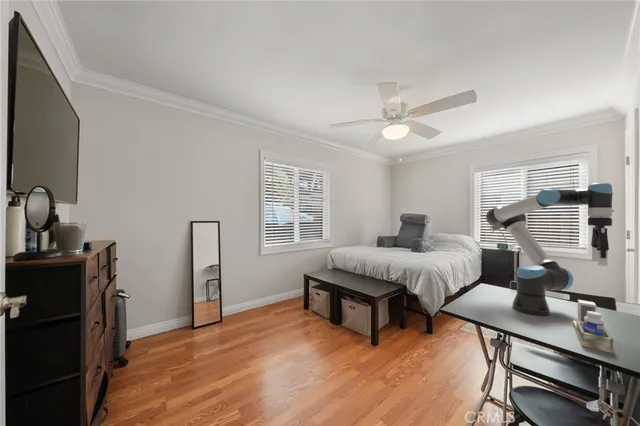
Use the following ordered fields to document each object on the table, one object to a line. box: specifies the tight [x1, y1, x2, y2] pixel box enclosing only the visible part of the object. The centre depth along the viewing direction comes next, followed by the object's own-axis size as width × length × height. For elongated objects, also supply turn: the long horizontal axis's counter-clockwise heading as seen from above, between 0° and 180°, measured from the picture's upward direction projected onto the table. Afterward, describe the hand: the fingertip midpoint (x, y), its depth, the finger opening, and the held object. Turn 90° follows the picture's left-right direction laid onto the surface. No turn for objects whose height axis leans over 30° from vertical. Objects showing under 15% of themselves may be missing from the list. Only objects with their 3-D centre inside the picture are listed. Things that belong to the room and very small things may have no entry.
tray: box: [572, 320, 614, 354], centre depth 105 cm, size 8×25×5 cm, turn 141°
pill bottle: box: [584, 311, 605, 336], centre depth 101 cm, size 5×5×10 cm
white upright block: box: [577, 299, 597, 323], centre depth 112 cm, size 5×6×10 cm
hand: (599, 263), depth 116 cm, fingers open, 13 cm apart
